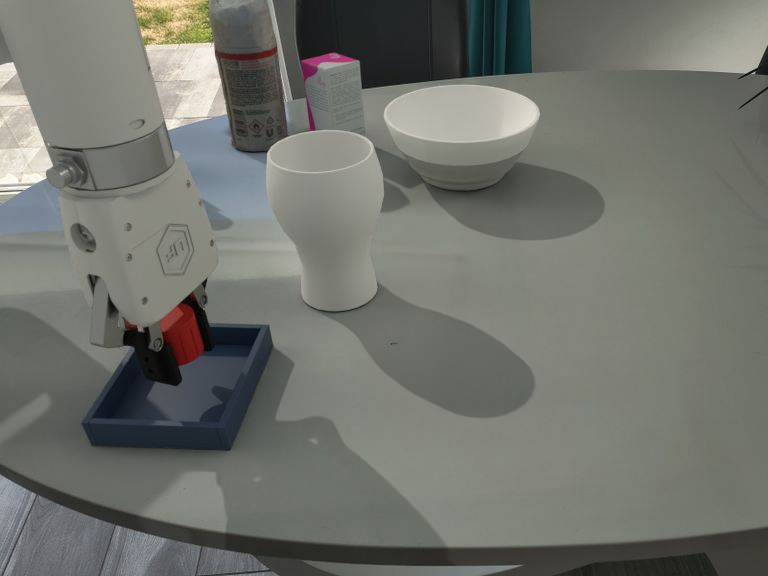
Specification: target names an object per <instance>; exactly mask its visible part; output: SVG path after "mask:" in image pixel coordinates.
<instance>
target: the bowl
mask: <svg viewBox="0 0 768 576" xmlns="http://www.w3.org/2000/svg"><path fill="white" fill-rule="evenodd" d="M540 117H541V113H540V108H539V106H538V105H537V104H536V103H535V102H534V101H533V100H531V99H530V98H528V97H527V96H525V95H523V94H521V93H519V92H515V91H512V90H509V89H505V88H500V87H496V86H490V85H489V86H488V85H478V84H447V85H438V86H431V87H424V88H421V89H417V90H413V91H410V92H408V93H407V92H406V93H404V94H401V95H400V96H398V97H396V98H395V99H393V100H391V102H389V103H388V104H387V106H386V107H385V109H384V111H383V119H384V122H385V124H386V127H387V129H388V131H389V134H390V136H391V138H392V140H393V142H394V144H395V146H396V147H397V149H398V150H399V152H400V154H401V155H402V156H403V157H404V159H406V161H408V164H409V166H411V168H412V170H414V171H415V172H416V173H417V174H418V175H419V176H420V177H421V178H422V180H423V181H425V183H427V184H428V185H431V186H433V187H436V188H439V189H443V190H447V191H457V192H459V191H460V192H461V191H463V192H464V191H475V190H480V189H485V188H489V187H491V186H493V185H495V184H497V183H498V182H499V181H501V180H502V179H503V177H504V176H505V174H506V173H508V172H509V171H510V170H511V169H513V167H514V165H515V163H516V161H517V160H518V159H519V158H520V157H521V155H522V154H523V153H524V151H525V150H526V148H527V147H528V145H529V144H530V142H531V139H532V137H533V135H534V132H535V130H536V128H537V125H538V124H539V123H538V122H539V121H540Z"/></svg>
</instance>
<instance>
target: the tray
mask: <svg viewBox="0 0 768 576" xmlns="http://www.w3.org/2000/svg"><path fill="white" fill-rule="evenodd" d="M209 326H210V329H211V333H212V336H213V340H214V343H215V347H214V348H213V349H212V350H211V351H208V352H206V351H203V352H202V353H201V355H200V356H199V357H198V358H197V359H195V360H194V361H192V362H190V363H188V364H185V365H181V366H179V369H180V372H181V375H182V382H181V383H180V384H179V385H178V386H172V385H168V384H164V383H159V382H155V381H151V380H148V379H146V378H145V376H144V373H143V371H142V368H141V365H140V363H139V360H138V357H137V355H136V352H135V349H134V347H131V346H129V347H130V348H129V349H128V350H127V352H126V354H125V355H124V356H123V358H122V360H121V361H120V362H119V364H118V366H117V367H116V369H115V370H114V372H113V373H112V374H111V377H110V378H109V379H108V381H107V382H106V384H105V386H103V389H102V390H101V391H100V393H99V395H98V396H97V398H96V399H95V401H94V402H93V404H92V405H91V407H90V408H89V410H88V411H87V413H86V414H85V416H84V417H83V419H82V420H81V422H80V424H81V426H82V428H83V430H84V433H85V436H86V437H87V439H88V442H89V444H90V446H98V447H101V446H102V447H125V448H126V447H129V448H131V447H132V448H152V449H153V448H156V449H157V448H158V449H183V450H184V449H187V450H209V451H211V450H216V451H231V450H232V448H233V445H234V443H235V442H236V441H235V440H236V438H237V436H238V433H239V430H240V428H241V426H242V423H243V421H244V418H245V416H246V414H247V411H248V409H249V407H250V404H251V402H252V399H253V397H254V395H255V392H256V390H257V387H258V384H259V383H260V380H261V378H262V375H263V373H264V370H265V368H266V366H267V363H268V361H269V358H270V357H271V356H270V355H271V354H272V351H273V348H274V342H273V341H274V340H273V337H272V333H271V332H272V331H271V328H270V325H269V324H263V323H262V324H259V323H227V322H226V323H223V322H209ZM140 332H144V330H143V328H142V329H141V331H140Z"/></svg>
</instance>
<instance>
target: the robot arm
mask: <svg viewBox="0 0 768 576" xmlns="http://www.w3.org/2000/svg"><path fill="white" fill-rule="evenodd" d="M135 8H136V7H135V5H134V1H133V0H0V66H2V65H6V64H11V63H13V66H14V68H15V70H16V73H17V76H18V79H19V82H20V84H21V87H22V89H23V91H24V94H25V97H26V100H27V101H28V104H29V107H30V110H31V113H32V115H33V117H34V121H35V123H36V126H37V128H38V131H39V134H40V137H42V140H43V144H44V145H45V148H46V151H47V154H48V156H49V159H50V161H51V165H52V166H51V167H49V168H48V169H46V170H45V177H46V180H47V181H48V183H49V184H50V185H51V186H52V187H54V188H56V189H59V190H58V191H57V199H58V206H59V212H60V216H61V218H60V219H61V223H62V228H63V232H64V237H65V241H66V244H67V245H66V246H67V248H68V252H69V255H70V260H71V263H72V265H73V268H74V271H75V275H76V277H77V280H78V283H79V286H80V288H81V290H82V294H83V295H84V298H85V300H86V302H87V304H88V307H89V309H90V310H91V319H90V329H89V343H90V344H91V346H96V347H101V348H103V349H104V348H105V349H115V348H124V347H134V349H135V352H136V355H137V357H138V360H139V363H140V365H141V368H142V371H143V373H144V376H145V378H146V379H148V380H151V381H155V382H159V383H164V384H168V385H172V386H178V385H179V384H180V383H181V382H182V375H181V372H180V369H179V366H178V363H177V360H176V357H175V354H174V351H173V348H172V345H171V344H170V343H167V342H163V335H162V329H161V324H160V320H161V319H162V318H163V317H165V316H166V315H167V314H168V313H169V312H170V311H171V310H172V309H174V308H175V307H176V306H177V305H178V304H179V303H182V304H186V305H188V306H190V307H191V308H192V309H193V311H194V315H195V318H196V321H197V325H198V328H199V331H200V335H201V338H202V341H203V345H204V349H203V351H206V352H208V351H211V350H212V349H213V348H214V347H215V343H214V340H213V336H212V333H211V329H210V326H209V323H210V321H209V319H208V316H207V312H206V310H205V309H204V308H206V307H207V305H208V303H209V296H208V294H207V292H206V288H207V283H208V279H209V276H211V274H213V272H214V271H215V270H216V268H217V267H218V265H219V261H220V256H219V251H218V247H217V241H216V239H215V236H214V235H215V234H214V231H213V228H212V225H211V221H210V219H209V216H208V213H207V210H206V207H205V204H204V201H203V199H202V196H201V193H200V190H199V188H198V186H197V183H196V181H195V179H194V177H193V175H192V173H191V171H190V168H189V166H188V165H187V163H186V161H185V159H184V157H183V156H182V155H181V153H180V152H179V151H177V150H175V149H173V146H172V142H171V138H170V134H169V131H168V127H167V123H166V119H165V115H164V111H163V108H162V104H161V101H160V97H159V93H158V89H157V86H156V82H155V79H154V75H153V71H152V67H151V63H150V59H149V56H148V52H147V48H146V46H145V40H144V37H143V34H142V30H141V27H140V22H139V18H138V16H137V12H136V9H135ZM138 326H139V327H141V328H142V327H144V331H145V333H144V332H141V331H139V328H138Z"/></svg>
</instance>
